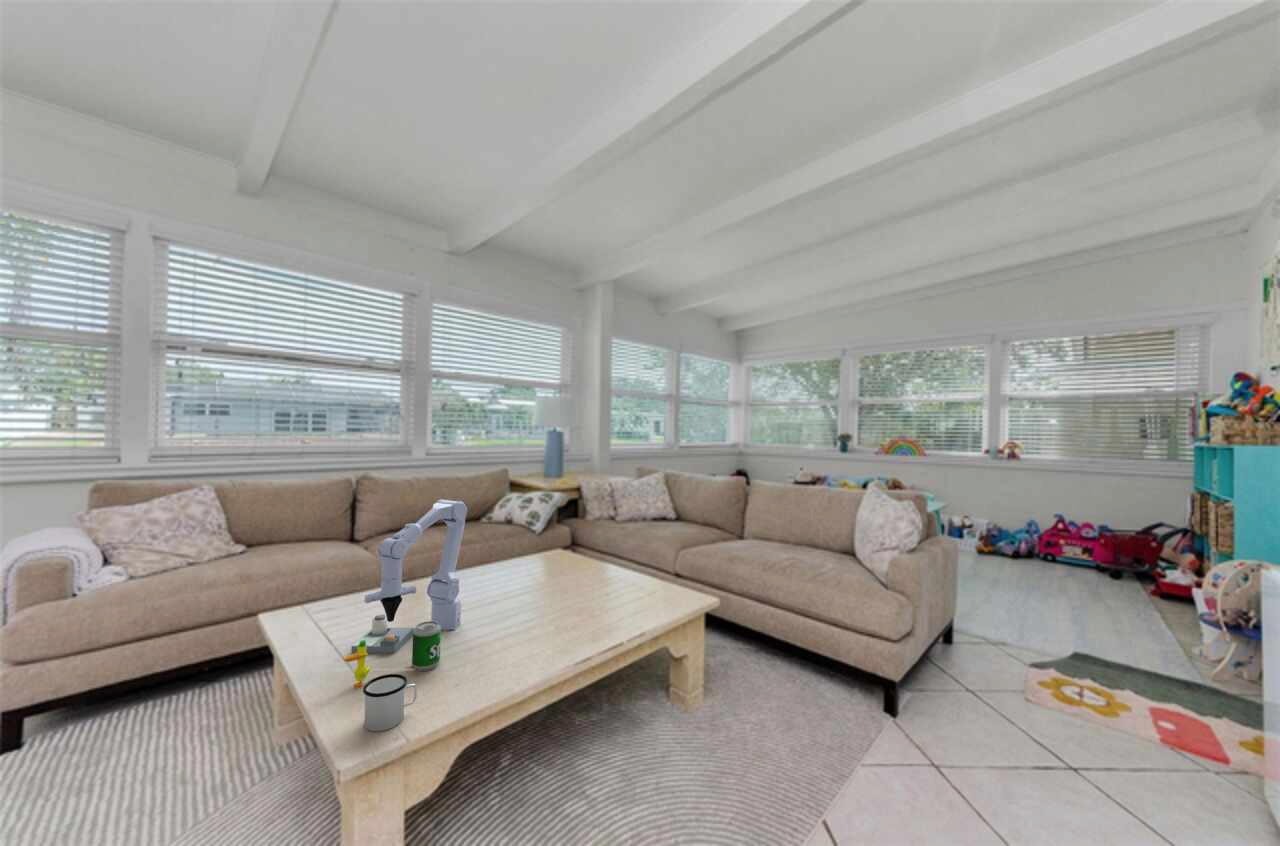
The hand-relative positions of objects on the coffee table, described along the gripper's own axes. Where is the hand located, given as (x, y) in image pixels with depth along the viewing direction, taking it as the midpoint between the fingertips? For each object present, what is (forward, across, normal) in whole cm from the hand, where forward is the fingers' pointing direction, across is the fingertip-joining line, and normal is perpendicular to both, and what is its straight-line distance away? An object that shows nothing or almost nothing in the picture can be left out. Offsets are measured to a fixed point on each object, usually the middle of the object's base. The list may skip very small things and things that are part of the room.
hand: (390, 620), depth 151 cm
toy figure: (+10, +13, +16) cm, 23 cm away
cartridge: (+9, 0, -11) cm, 14 cm away
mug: (+10, +11, +38) cm, 40 cm away
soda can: (+10, -5, +17) cm, 20 cm away
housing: (+9, 0, -6) cm, 11 cm away
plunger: (+7, 0, 0) cm, 7 cm away
